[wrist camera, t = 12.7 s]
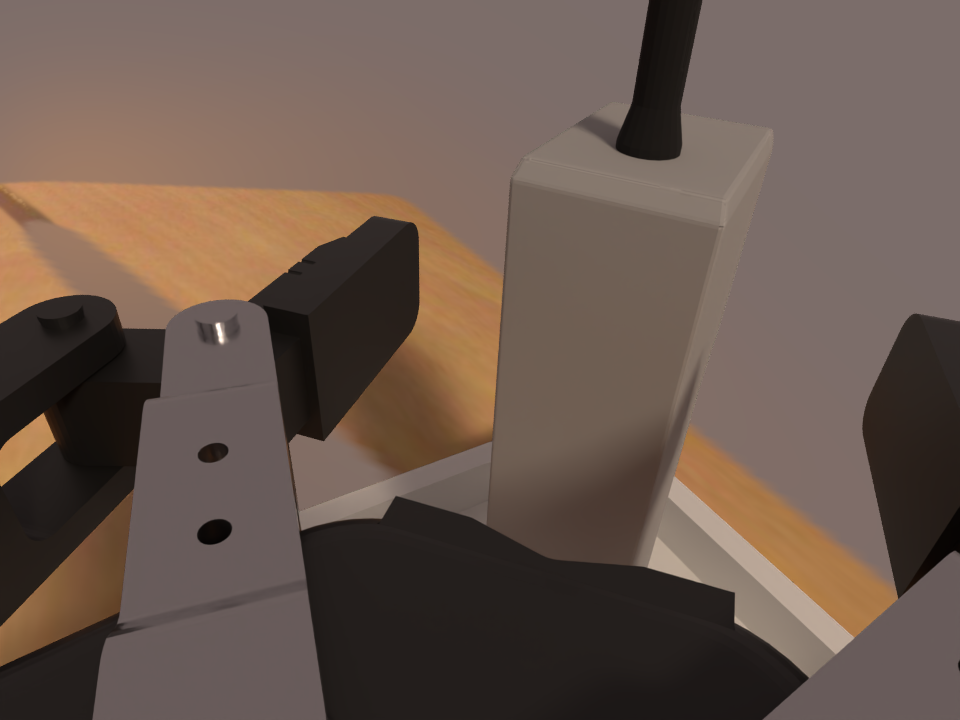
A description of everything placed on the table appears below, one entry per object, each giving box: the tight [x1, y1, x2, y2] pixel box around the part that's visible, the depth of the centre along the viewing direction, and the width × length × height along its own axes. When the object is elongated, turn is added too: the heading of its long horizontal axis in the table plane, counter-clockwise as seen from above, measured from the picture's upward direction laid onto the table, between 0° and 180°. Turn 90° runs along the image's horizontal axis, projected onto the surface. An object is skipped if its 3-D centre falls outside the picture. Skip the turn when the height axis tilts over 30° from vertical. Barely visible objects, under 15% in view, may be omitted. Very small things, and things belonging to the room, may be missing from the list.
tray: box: [299, 441, 854, 678], centre depth 22 cm, size 14×16×3 cm
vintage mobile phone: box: [486, 0, 773, 568], centre depth 15 cm, size 4×5×25 cm
